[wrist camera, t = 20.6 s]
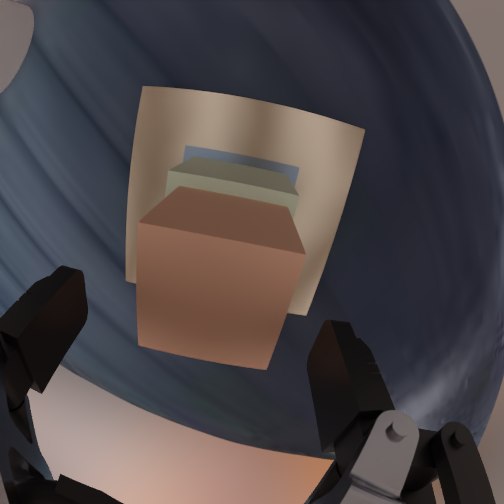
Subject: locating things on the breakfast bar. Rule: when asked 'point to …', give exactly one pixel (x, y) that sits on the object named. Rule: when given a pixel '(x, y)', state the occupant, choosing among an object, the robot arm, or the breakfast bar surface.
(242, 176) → the sage block
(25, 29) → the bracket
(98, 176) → the breakfast bar surface
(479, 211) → the breakfast bar surface
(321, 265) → the board
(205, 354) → the terracotta block
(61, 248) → the breakfast bar surface
